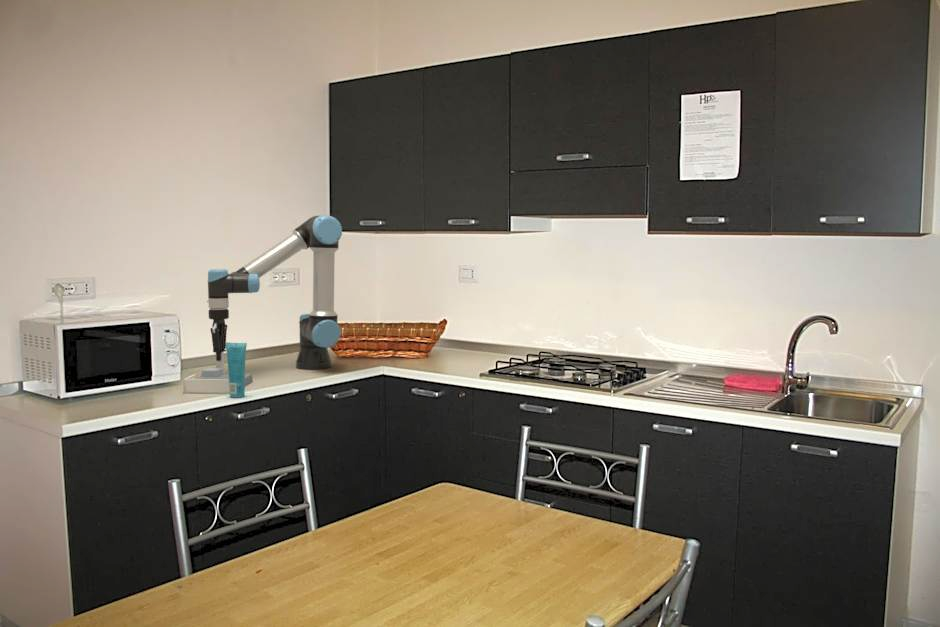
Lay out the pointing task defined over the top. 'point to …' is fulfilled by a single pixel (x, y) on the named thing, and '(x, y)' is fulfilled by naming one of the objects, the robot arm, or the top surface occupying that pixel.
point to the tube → (236, 368)
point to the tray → (205, 385)
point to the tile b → (212, 372)
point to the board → (226, 376)
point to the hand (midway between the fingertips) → (219, 368)
